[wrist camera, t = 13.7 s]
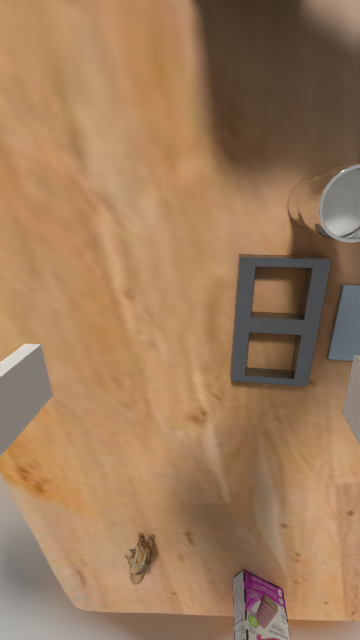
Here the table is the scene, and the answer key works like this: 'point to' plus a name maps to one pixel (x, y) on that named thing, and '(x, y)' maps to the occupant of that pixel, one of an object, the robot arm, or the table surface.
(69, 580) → the table surface
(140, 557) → the lion figurine
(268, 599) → the candy bar box
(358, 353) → the slate mat
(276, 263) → the dark grey slotted frame
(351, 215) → the silver metal tumbler
